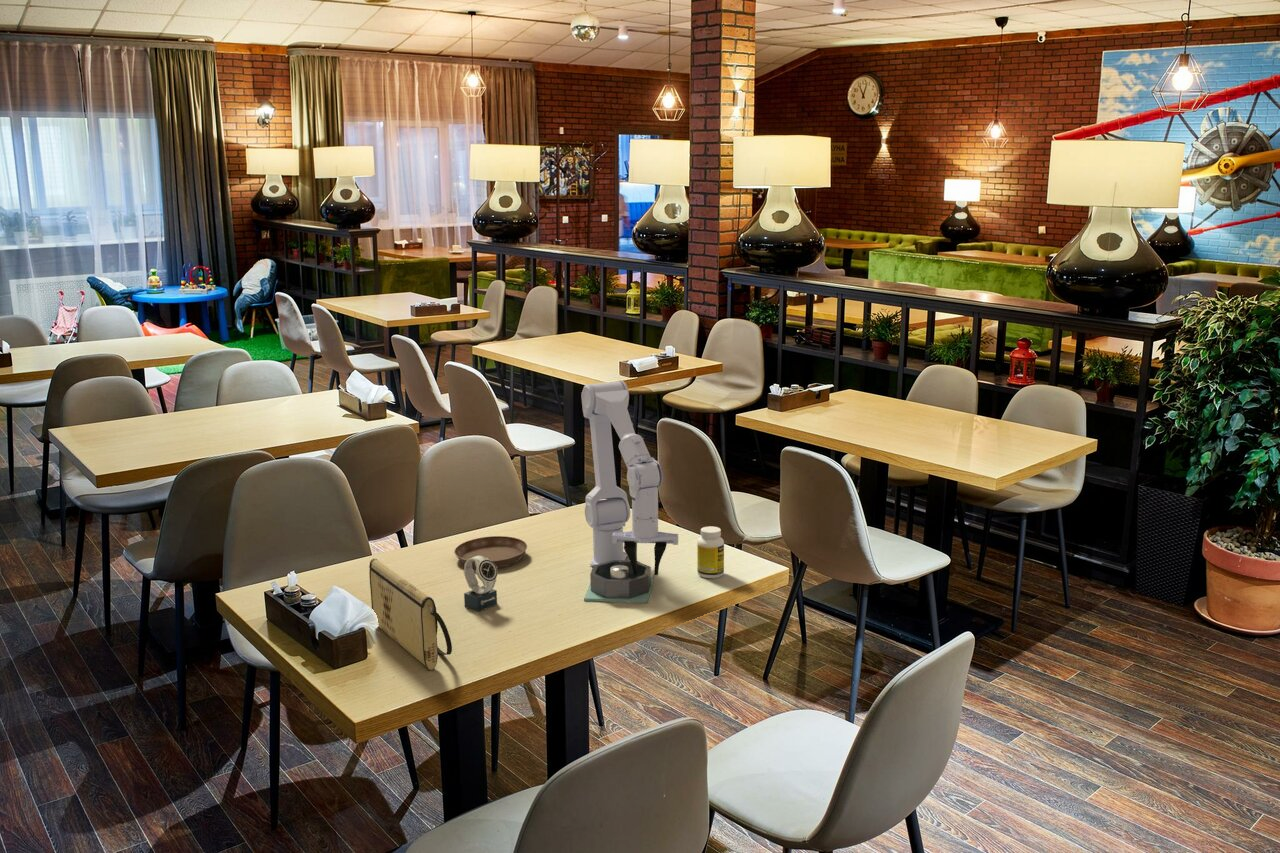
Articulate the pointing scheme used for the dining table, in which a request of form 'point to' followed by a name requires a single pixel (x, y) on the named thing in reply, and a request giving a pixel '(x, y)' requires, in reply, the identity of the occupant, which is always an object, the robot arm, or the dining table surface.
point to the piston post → (619, 572)
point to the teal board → (595, 597)
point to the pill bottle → (710, 553)
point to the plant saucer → (492, 550)
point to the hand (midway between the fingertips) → (645, 573)
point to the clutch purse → (406, 614)
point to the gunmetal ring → (620, 588)
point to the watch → (487, 574)
